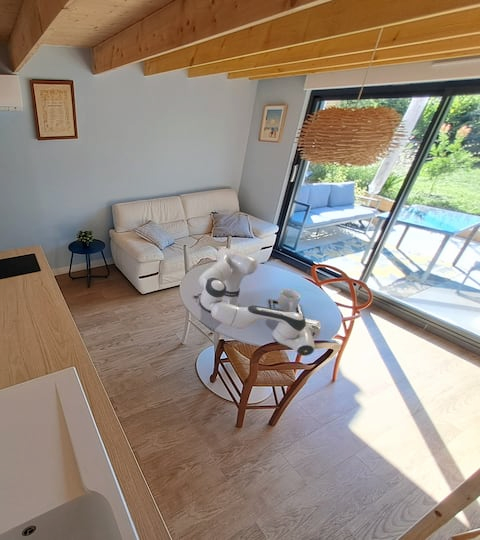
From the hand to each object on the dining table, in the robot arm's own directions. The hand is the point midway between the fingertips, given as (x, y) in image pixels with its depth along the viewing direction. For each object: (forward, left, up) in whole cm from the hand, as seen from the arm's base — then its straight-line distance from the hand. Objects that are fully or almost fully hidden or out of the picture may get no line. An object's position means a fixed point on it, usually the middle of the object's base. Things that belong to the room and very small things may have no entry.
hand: (296, 314), depth 159 cm
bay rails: (0, +22, -13) cm, 26 cm away
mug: (0, +20, -14) cm, 24 cm away
